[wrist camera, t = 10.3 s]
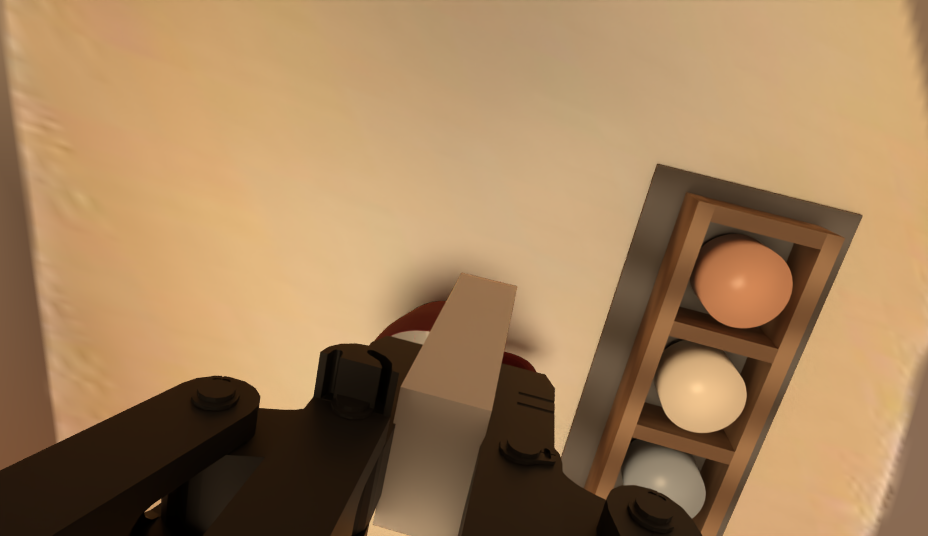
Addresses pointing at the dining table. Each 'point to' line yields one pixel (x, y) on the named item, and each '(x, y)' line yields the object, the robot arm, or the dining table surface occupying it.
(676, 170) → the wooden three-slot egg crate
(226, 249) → the dining table surface
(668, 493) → the slate egg
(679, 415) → the cream egg
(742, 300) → the brown oval piece
